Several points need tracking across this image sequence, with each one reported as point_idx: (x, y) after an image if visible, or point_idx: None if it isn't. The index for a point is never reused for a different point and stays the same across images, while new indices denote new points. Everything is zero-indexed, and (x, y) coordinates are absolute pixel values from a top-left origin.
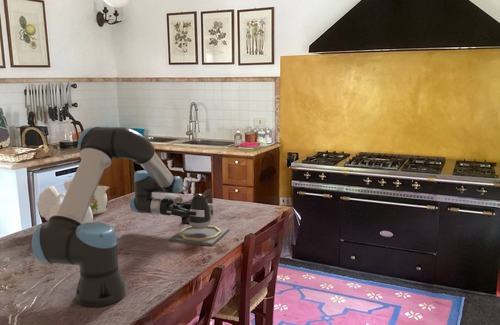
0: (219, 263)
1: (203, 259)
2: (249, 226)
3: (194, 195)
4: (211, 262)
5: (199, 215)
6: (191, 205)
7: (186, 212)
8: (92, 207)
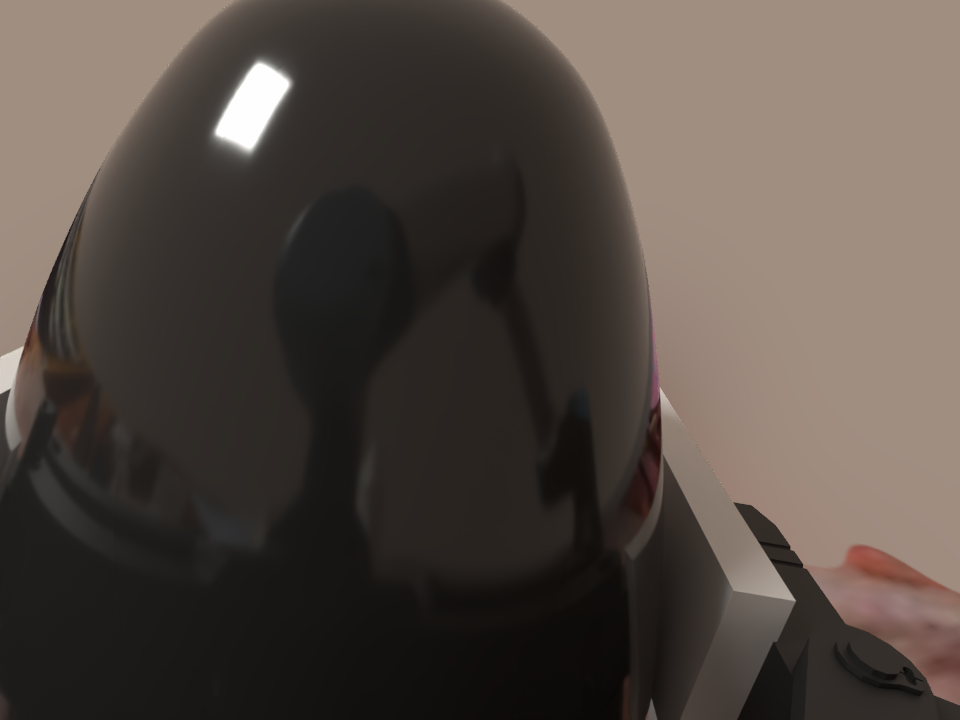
0: (887, 561)
1: (951, 668)
2: None
3: (482, 35)
4: (927, 605)
5: None
6: (647, 476)
7: (958, 707)
8: None
